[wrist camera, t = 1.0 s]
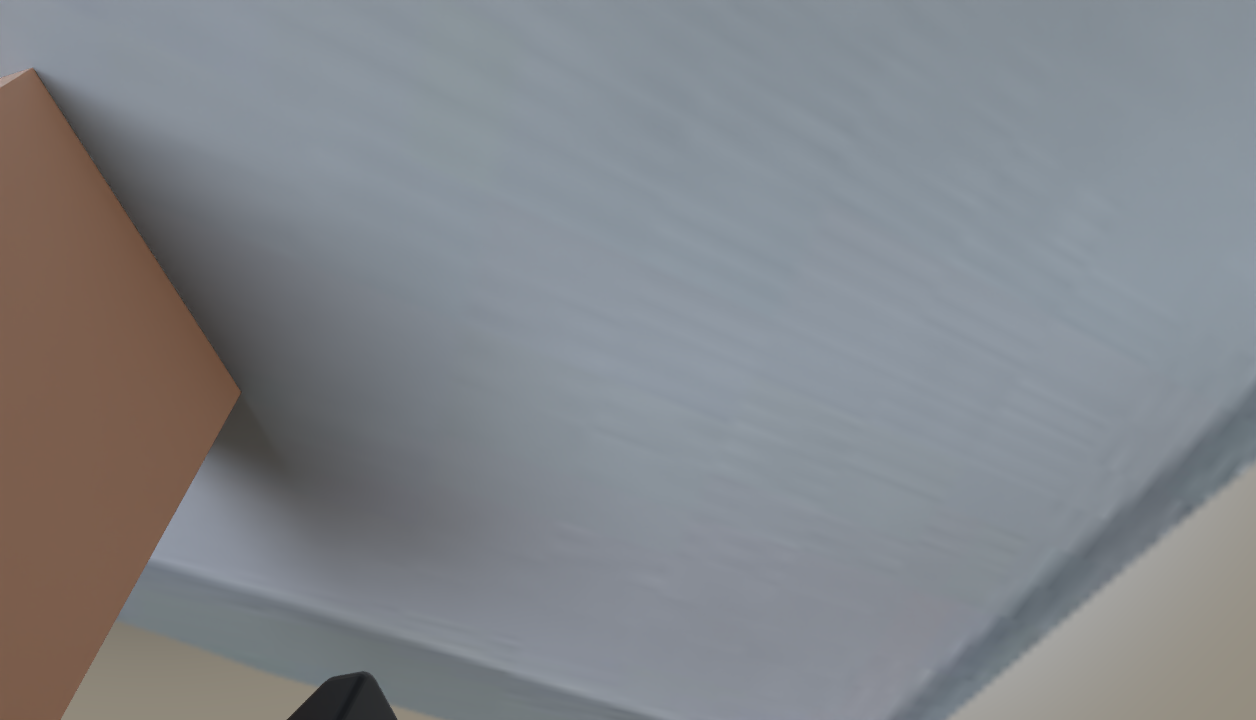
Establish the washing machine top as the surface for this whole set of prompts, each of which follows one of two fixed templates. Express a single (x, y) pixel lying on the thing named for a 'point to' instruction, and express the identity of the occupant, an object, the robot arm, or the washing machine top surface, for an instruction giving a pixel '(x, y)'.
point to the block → (83, 404)
